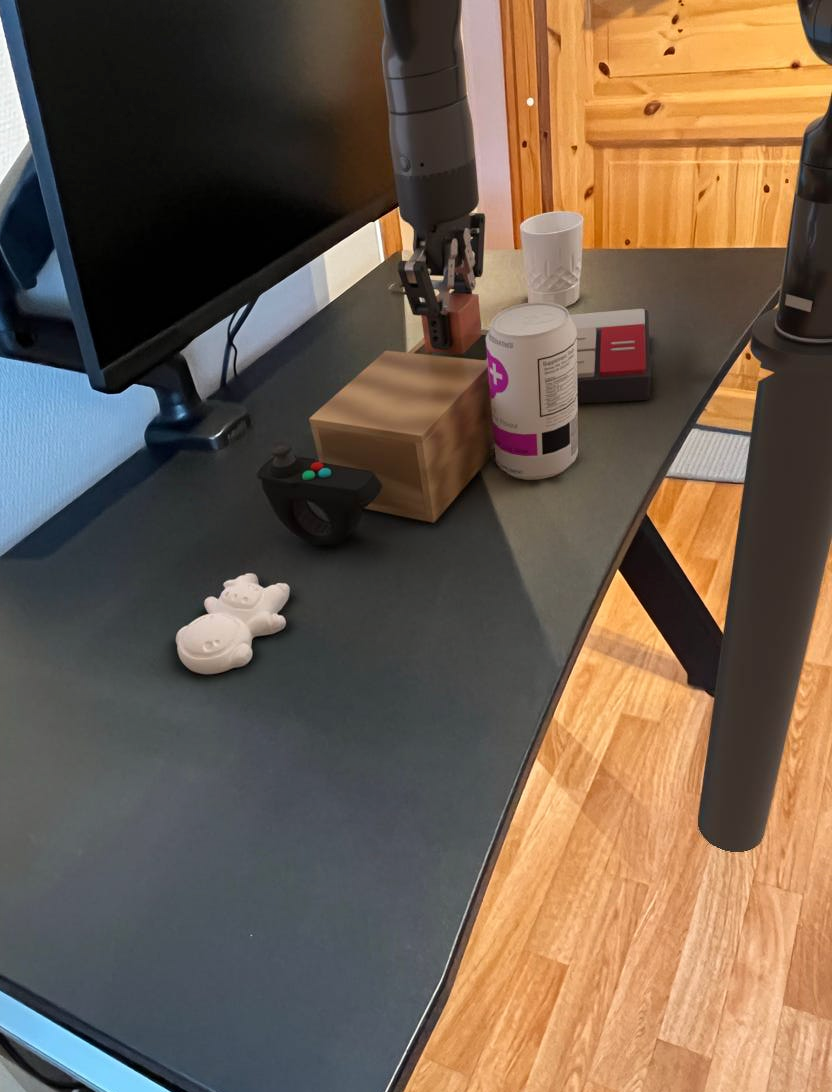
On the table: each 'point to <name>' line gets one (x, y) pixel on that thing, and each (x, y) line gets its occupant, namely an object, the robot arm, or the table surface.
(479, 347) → the drawer
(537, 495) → the table surface
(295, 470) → the controller
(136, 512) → the table surface
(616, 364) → the calculator
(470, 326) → the block
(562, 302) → the white cup
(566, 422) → the supplement can
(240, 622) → the white animal figurine
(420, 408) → the cabinet
